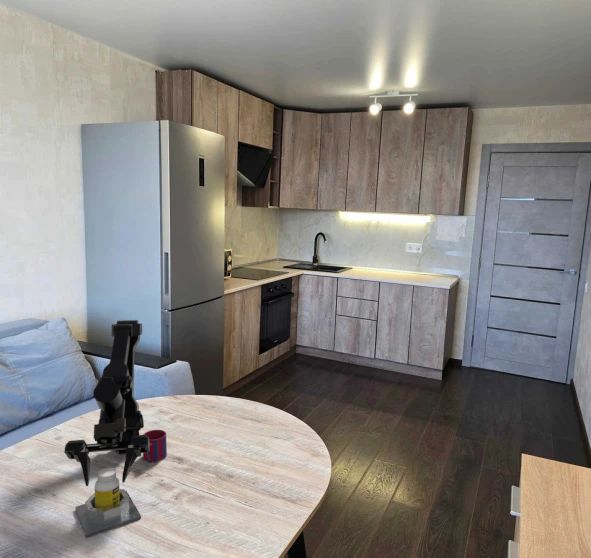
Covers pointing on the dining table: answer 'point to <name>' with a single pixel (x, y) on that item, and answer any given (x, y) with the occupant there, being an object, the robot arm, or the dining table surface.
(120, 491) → the collar
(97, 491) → the supplement bottle
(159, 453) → the mug
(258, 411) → the dining table surface
